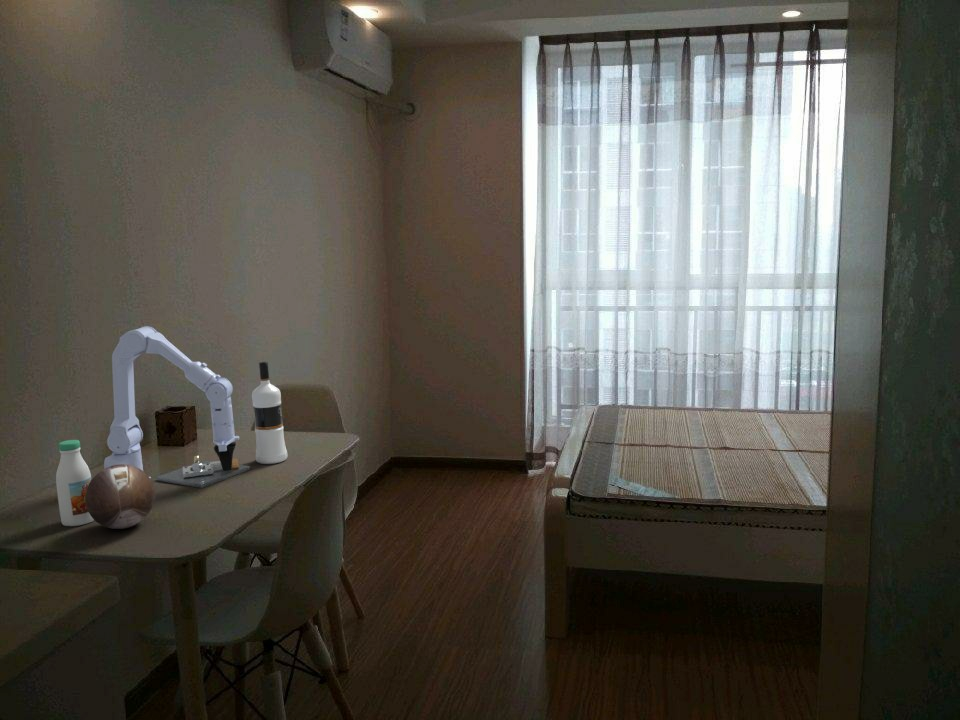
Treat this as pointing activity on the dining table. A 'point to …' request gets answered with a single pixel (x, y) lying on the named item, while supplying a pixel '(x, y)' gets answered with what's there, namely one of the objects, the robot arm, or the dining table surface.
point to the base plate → (200, 480)
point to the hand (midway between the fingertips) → (227, 469)
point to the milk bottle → (72, 484)
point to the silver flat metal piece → (207, 468)
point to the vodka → (268, 420)
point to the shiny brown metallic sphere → (120, 496)
